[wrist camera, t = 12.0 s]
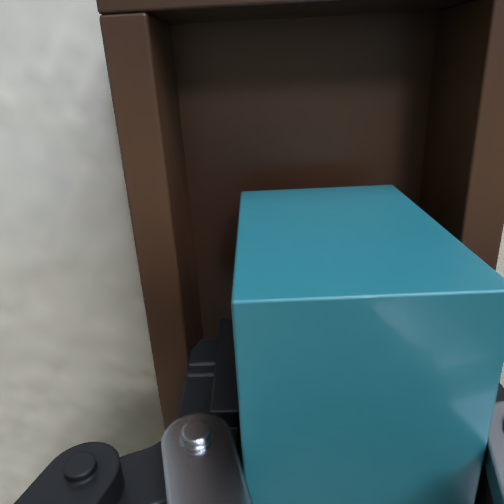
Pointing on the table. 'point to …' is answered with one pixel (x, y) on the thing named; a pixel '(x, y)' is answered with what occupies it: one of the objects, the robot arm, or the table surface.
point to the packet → (361, 349)
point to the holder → (293, 130)
